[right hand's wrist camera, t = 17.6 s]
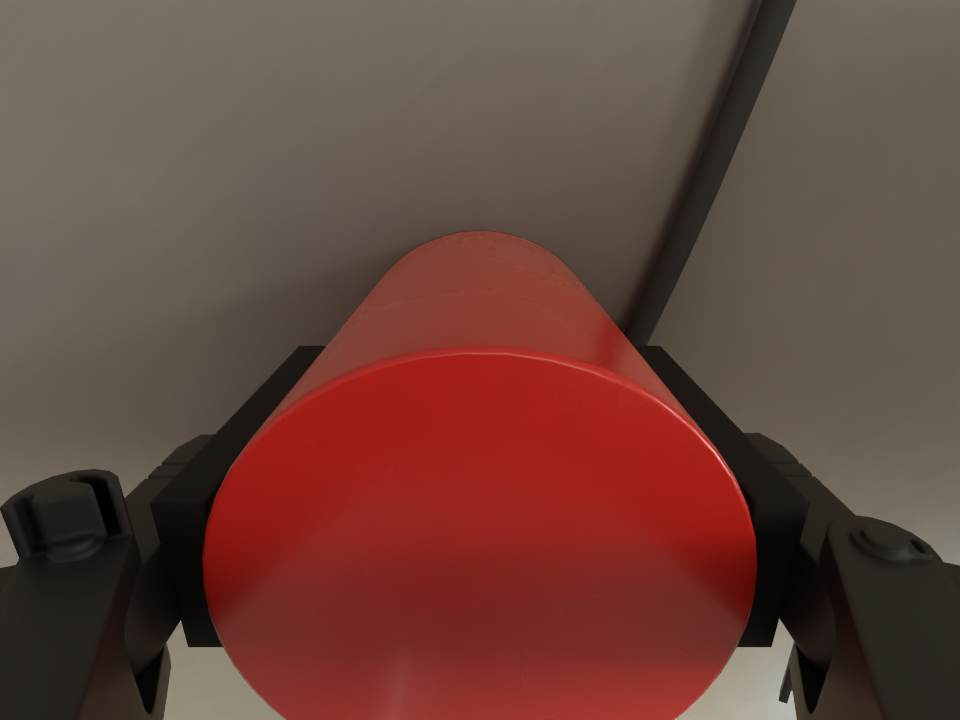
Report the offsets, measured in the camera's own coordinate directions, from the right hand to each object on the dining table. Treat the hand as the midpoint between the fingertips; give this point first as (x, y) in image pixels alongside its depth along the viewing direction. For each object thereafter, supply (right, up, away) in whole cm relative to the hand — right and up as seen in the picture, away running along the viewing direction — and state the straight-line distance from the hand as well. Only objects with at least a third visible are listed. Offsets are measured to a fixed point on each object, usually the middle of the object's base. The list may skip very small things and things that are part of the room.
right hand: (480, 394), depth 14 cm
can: (0, +1, +3) cm, 3 cm away
